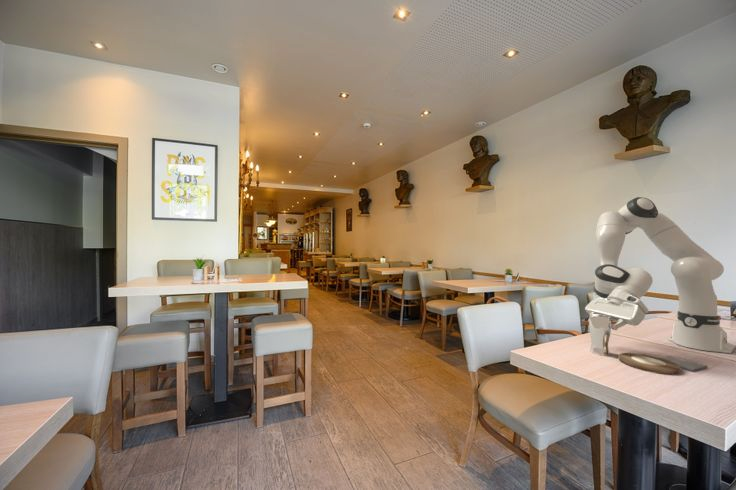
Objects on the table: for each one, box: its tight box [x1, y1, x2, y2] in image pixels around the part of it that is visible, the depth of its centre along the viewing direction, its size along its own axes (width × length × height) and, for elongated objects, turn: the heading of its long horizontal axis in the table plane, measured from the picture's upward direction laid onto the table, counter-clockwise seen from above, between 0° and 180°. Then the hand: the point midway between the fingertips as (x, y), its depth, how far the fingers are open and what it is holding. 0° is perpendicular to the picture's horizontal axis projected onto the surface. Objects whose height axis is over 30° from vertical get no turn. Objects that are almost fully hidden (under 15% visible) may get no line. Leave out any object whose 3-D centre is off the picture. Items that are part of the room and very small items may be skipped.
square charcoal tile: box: [661, 355, 708, 373], centre depth 106 cm, size 10×10×1 cm
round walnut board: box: [618, 352, 682, 376], centre depth 105 cm, size 16×16×2 cm
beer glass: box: [588, 314, 612, 357], centre depth 117 cm, size 7×7×15 cm
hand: (601, 325), depth 118 cm, fingers open, 8 cm apart
